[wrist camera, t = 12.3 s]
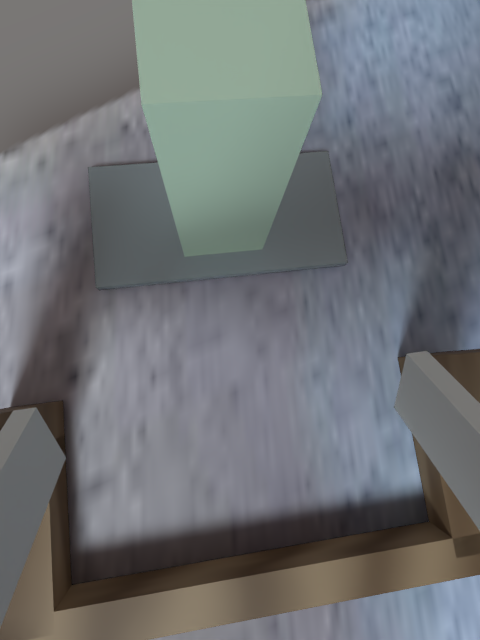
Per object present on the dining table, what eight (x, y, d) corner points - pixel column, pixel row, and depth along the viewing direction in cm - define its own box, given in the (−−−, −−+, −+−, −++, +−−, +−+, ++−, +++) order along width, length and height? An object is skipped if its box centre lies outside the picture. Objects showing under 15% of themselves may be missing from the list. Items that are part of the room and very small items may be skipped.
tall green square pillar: (252, 177, 22) (295, -52, 10) (262, 249, 21) (322, 94, 9) (176, 183, 21) (127, -50, 9) (184, 256, 21) (141, 104, 9)
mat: (325, 156, 23) (328, 151, 22) (344, 265, 22) (347, 262, 21) (91, 172, 22) (88, 167, 21) (99, 289, 20) (95, 287, 20)
